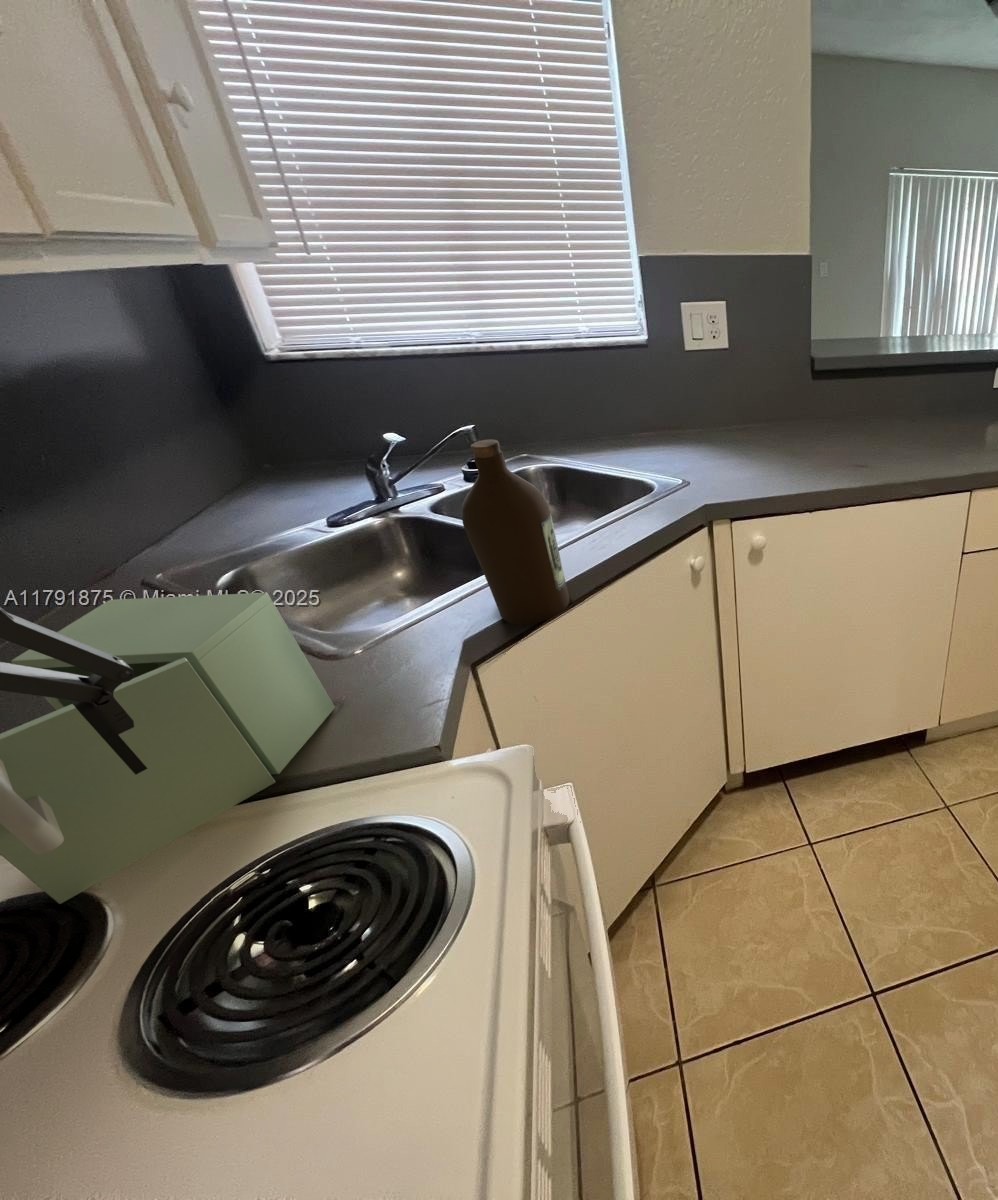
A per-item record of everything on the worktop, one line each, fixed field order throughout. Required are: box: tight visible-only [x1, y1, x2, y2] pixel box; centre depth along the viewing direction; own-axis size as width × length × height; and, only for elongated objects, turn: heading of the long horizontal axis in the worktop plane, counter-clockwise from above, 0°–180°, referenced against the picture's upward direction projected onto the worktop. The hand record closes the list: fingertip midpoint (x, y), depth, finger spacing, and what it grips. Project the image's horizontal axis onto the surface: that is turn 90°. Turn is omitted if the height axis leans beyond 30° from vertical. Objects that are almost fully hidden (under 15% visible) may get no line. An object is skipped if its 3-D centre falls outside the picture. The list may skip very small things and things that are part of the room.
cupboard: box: [10, 592, 336, 776], centre depth 65 cm, size 10×16×17 cm, turn 92°
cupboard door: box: [0, 658, 276, 905], centre depth 53 cm, size 7×16×17 cm, turn 144°
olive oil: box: [461, 438, 570, 626], centre depth 84 cm, size 11×11×25 cm
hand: (15, 827), depth 45 cm, fingers open, 13 cm apart
